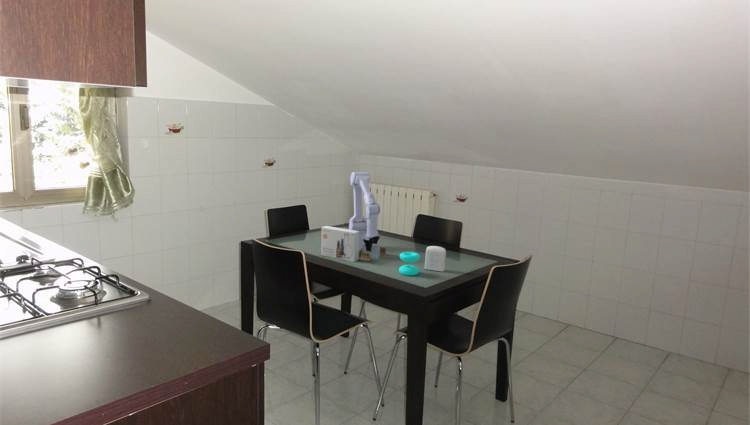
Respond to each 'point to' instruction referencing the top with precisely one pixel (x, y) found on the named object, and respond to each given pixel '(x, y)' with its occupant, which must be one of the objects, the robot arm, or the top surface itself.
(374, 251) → the light blue block
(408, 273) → the donuts
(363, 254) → the offcut stack
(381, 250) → the brown wooden l-shape
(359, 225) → the robot arm
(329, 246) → the skincare box
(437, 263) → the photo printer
